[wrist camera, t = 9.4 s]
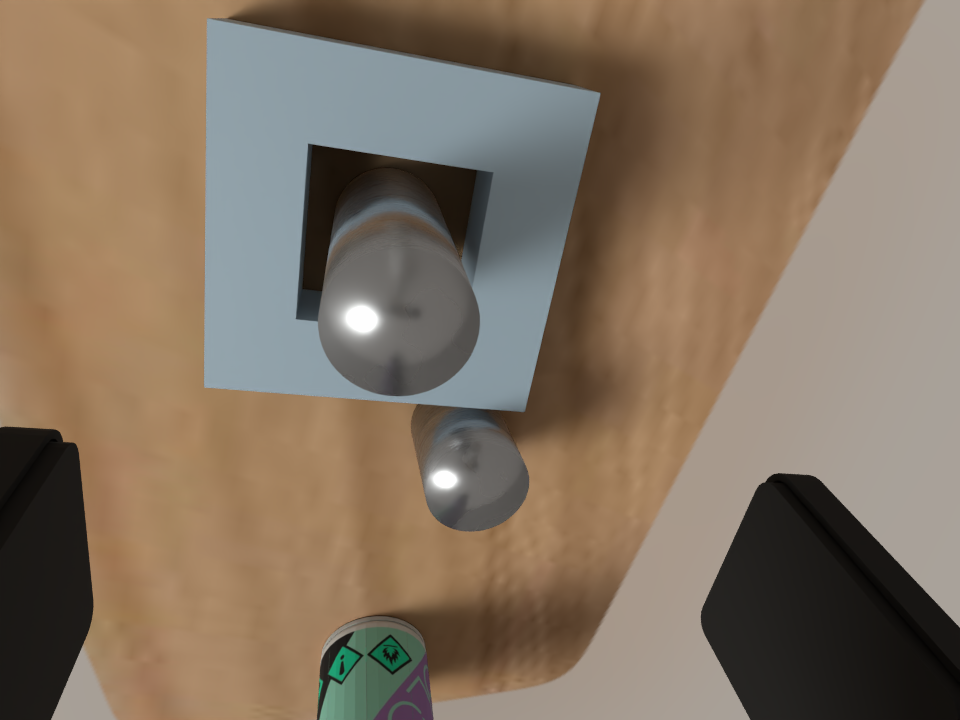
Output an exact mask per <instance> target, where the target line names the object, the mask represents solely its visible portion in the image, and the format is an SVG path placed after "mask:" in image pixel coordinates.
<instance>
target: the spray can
mask: <svg viewBox="0 0 960 720" xmlns="http://www.w3.org/2000/svg"><path fill="white" fill-rule="evenodd" d="M317 720H433V711H432V701H431V691H430V682H429V672H428V663H427V653H426V649H425V643H424V639H423V637H422V635H421V634H420V632H419V631H418V630H417V629H416V628H415V627H414V626H412V625H411V624H409V623H407V622H405V621H403V620H400V619H397V618H392V617H387V616H373V617H365V618H361V619H357V620H354V621H352V622H350V623H347V624H345V625H344V626H342V627H340V628H339V629H337V630H336V631H335V632H334V633H333V634H332V635H331V636H330V637H329V638H328V640H327V641H326V643H325V645H324V647H323V650H322V656H321V663H320V680H319V696H318V713H317Z"/></svg>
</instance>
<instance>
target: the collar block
mask: <svg viewBox="0 0 960 720" xmlns="http://www.w3.org/2000/svg"><path fill="white" fill-rule="evenodd" d="M600 94H601V93H599V92H595V91H592V90H589V89H586V88H583V87H579V86H576V85H572V84H567V83H561V82H556V81H551V80H546V79H540V78H535V77H530V76H525V75H519V74H514V73H509V72H504V71H498V70H493V69H488V68H483V67H477V66H472V65H467V64H462V63H456V62H451V61H446V60H441V59H436V58H430V57H425V56H420V55H415V54H409V53H404V52H399V51H394V50H388V49H383V48H378V47H373V46H367V45H362V44H357V43H352V42H346V41H341V40H336V39H331V38H325V37H320V36H315V35H310V34H304V33H299V32H294V31H289V30H283V29H278V28H273V27H268V26H263V25H257V24H252V23H247V22H242V21H236V20H231V19H226V18H207V93H206V222H205V351H204V387H206V388H219V389H232V390H245V391H258V392H271V393H284V394H297V395H310V396H323V397H336V398H349V399H362V400H375V401H388V402H401V403H414V404H427V405H440V406H453V407H466V408H479V409H491V410H504V411H517V412H525V408H526V404H527V400H528V396H529V392H530V387H531V383H532V379H533V375H534V371H535V366H536V362H537V358H538V354H539V350H540V345H541V341H542V337H543V333H544V329H545V325H546V320H547V316H548V312H549V308H550V304H551V299H552V295H553V291H554V287H555V283H556V278H557V274H558V270H559V266H560V262H561V257H562V253H563V249H564V245H565V241H566V236H567V232H568V228H569V224H570V220H571V216H572V211H573V207H574V203H575V199H576V195H577V190H578V186H579V182H580V178H581V174H582V169H583V165H584V161H585V157H586V153H587V148H588V144H589V140H590V136H591V132H592V128H593V123H594V119H595V115H596V111H597V107H598V102H599V98H600ZM313 144H314V145H321V146H327V147H333V148H340V149H346V150H353V151H359V152H365V153H372V154H378V155H385V156H391V157H397V158H404V159H410V160H416V161H423V162H429V163H436V164H442V165H448V166H455V167H461V168H468V169H474V170H477V174H476V179H475V185H474V191H473V197H472V202H471V208H470V214H469V220H468V225H467V231H466V237H465V243H464V248H463V254H462V260H461V262H462V264H463V267H464V269H465V272H466V274H467V277H468V279H469V282H470V284H471V287H472V289H473V292H474V294H475V297H476V300H477V303H478V307H479V313H480V329H479V336H478V339H477V343H476V346H475V348H474V350H473V353H472V354H471V356H470V358H469V359H468V361H467V362H466V364H465V365H464V366H463V368H462V369H461V370H460V371H459V372H458V373H457V374H456V375H455V376H453V377H452V378H451V379H450V380H448V381H447V382H445V383H444V384H442V385H440V386H438V387H436V388H434V389H432V390H430V391H427V392H423V393H420V394H415V395H410V396H387V395H380V394H376V393H372V392H369V391H367V390H364V389H362V388H360V387H358V386H356V385H354V384H353V383H351V382H350V381H348V380H347V379H346V378H344V377H343V376H342V375H341V374H340V373H339V372H338V371H337V370H336V369H335V368H334V366H333V365H332V364H331V363H330V361H329V359H328V358H327V356H326V354H325V352H324V350H323V347H322V345H321V341H320V338H319V331H318V315H319V309H320V302H321V296H322V291H315V290H306V289H302V285H303V271H304V258H305V244H306V230H307V216H308V202H309V188H310V174H311V160H312V147H313Z"/></svg>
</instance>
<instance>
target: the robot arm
mask: <svg viewBox="0 0 960 720" xmlns="http://www.w3.org/2000/svg"><path fill="white" fill-rule="evenodd" d="M92 615H93V593H92V582H91V572H90V562H89V552H88V542H87V531H86V521H85V511H84V501H83V491H82V481H81V470H80V460H79V452H78V448H77V446H76V444H75V443H69V442H63V439H62V436H61V434H60V432H59V431H57V430H54V429H38V428H21V427H1V428H0V720H51V718H52V716H53V714H54V711H55V709H56V707H57V704H58V702H59V699H60V697H61V695H62V693H63V690H64V688H65V686H66V683H67V681H68V678H69V676H70V674H71V672H72V669H73V667H74V664H75V662H76V660H77V657H78V655H79V653H80V650H81V648H82V646H83V643H84V641H85V639H86V636H87V634H88V631H89V628H90V624H91V620H92ZM701 624H702V629H703V631H704V634H705V636H706V638H707V640H708V642H709V644H710V645H711V647H712V649H713V651H714V653H715V655H716V657H717V658H718V660H719V662H720V664H721V666H722V667H723V669H724V671H725V673H726V675H727V677H728V679H729V681H730V682H731V684H732V686H733V688H734V690H735V692H736V694H737V695H738V697H739V699H740V701H741V703H742V705H743V707H744V709H745V710H746V712H747V714H748V716H749V718H750V720H960V628H959V626H958V625H957V624H956V623H955V622H954V621H953V620H952V619H951V618H950V617H949V616H948V615H947V614H946V613H945V612H944V611H943V610H942V608H941V607H940V606H938V604H937V603H936V602H935V601H934V600H933V599H932V598H931V597H930V596H929V595H928V594H927V593H926V592H925V591H924V590H923V588H922V587H921V586H920V585H919V584H918V583H917V582H916V581H915V580H914V579H913V578H912V577H911V576H910V575H909V574H908V573H907V572H906V571H905V570H904V568H903V567H902V566H901V565H900V564H899V563H898V562H897V561H896V560H895V559H894V558H893V557H892V556H891V555H890V554H889V553H888V552H887V551H886V550H885V548H884V547H883V546H882V545H881V544H880V543H879V542H878V541H877V540H876V539H875V538H874V537H873V536H872V535H871V534H870V533H869V532H868V531H867V529H866V528H865V527H864V526H863V525H862V524H861V523H860V522H859V521H858V520H857V519H856V518H855V517H854V516H853V515H852V514H851V513H850V511H848V509H847V508H846V507H845V506H844V505H843V504H842V503H841V502H840V501H839V500H838V499H837V498H836V497H835V496H834V495H833V494H832V492H830V491H829V490H828V488H827V487H826V486H825V485H824V484H823V483H822V482H821V481H820V480H819V479H817V478H816V477H814V476H810V475H799V474H782V473H778V474H773V475H772V476H770V477H769V478H768V479H767V481H766V482H765V483H762V484H761V485H759V487H758V488H757V490H756V491H755V494H754V496H753V498H752V500H751V502H750V504H749V507H748V509H747V511H746V513H745V516H744V518H743V520H742V522H741V524H740V527H739V529H738V531H737V533H736V535H735V537H734V540H733V542H732V544H731V546H730V548H729V551H728V553H727V555H726V557H725V559H724V562H723V564H722V566H721V568H720V570H719V573H718V575H717V577H716V579H715V581H714V584H713V586H712V588H711V590H710V592H709V595H708V597H707V599H706V601H705V603H704V606H703V608H702V611H701Z"/></svg>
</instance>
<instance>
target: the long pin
mask: <svg viewBox="0 0 960 720" xmlns="http://www.w3.org/2000/svg"><path fill="white" fill-rule="evenodd" d="M479 329H480V313H479V307H478V303H477V300H476V297H475V294H474V292H473V289H472V287H471V284H470V282H469V279H468V277H467V274H466V272H465V269H464V267H463V264H462V262H461V259H460V257H459V254H458V252H457V250H456V247H455V245H454V242H453V240H452V237H451V235H450V232H449V230H448V227H447V225H446V222H445V220H444V217H443V215H442V212H441V210H440V208H439V205H438V203H437V200H436V198H435V196H434V194H433V193H432V191H431V190H430V189H429V187H428V186H427V185H426V184H425V183H424V182H423V181H422V180H420V179H419V178H418V177H416V176H415V175H413V174H411V173H409V172H406V171H404V170H400V169H396V168H378V169H373V170H370V171H367V172H365V173H363V174H360V175H359V176H357V177H356V178H354V179H353V180H352V181H351V182H350V183H349V184H348V185H347V186H346V187H345V188H344V190H343V191H342V193H341V195H340V197H339V199H338V201H337V205H336V209H335V215H334V221H333V227H332V234H331V240H330V246H329V252H328V259H327V265H326V271H325V277H324V284H323V290H322V296H321V302H320V309H319V315H318V331H319V338H320V341H321V345H322V347H323V350H324V352H325V354H326V356H327V358H328V359H329V361H330V363H331V364H332V365H333V366H334V368H335V369H336V370H337V371H338V372H339V373H340V374H341V375H342V376H343V377H344V378H346V379H347V380H348V381H350V382H351V383H353V384H354V385H356V386H358V387H360V388H362V389H364V390H367V391H369V392H372V393H376V394H380V395H387V396H410V395H415V394H420V393H423V392H427V391H430V390H432V389H434V388H436V387H438V386H440V385H442V384H444V383H445V382H447V381H448V380H450V379H451V378H452V377H453V376H455V375H456V374H457V373H458V372H459V371H460V370H461V369H462V368H463V366H464V365H465V364H466V362H467V361H468V359H469V358H470V356H471V354H472V353H473V350H474V348H475V346H476V343H477V339H478V336H479Z"/></svg>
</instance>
